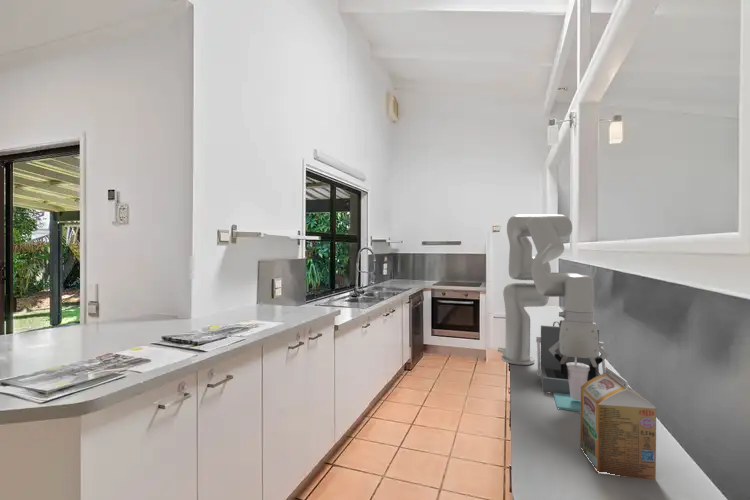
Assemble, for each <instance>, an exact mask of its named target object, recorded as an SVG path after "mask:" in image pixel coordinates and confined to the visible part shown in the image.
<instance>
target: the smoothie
mask: <svg viewBox="0 0 750 500" xmlns="http://www.w3.org/2000/svg"><path fill="white" fill-rule="evenodd" d="M566 365H567V373H568V381H569V389H570V397H571V398H572V399H574V400H580V401H581V386H582V385H584V384H585V383H586V382H587V379H588V372H589V371H590V366H588V365H586V364H583V363H577V357H575V362H569V363H566Z"/></svg>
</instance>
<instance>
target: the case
mask: <svg viewBox="0 0 750 500" xmlns="http://www.w3.org/2000/svg"><path fill="white" fill-rule="evenodd" d="M597 332H598V345H599V346H600V347H601V348H602V349H603V350H604V347H605V346H604V345H605V343H604V342H603V341H600V329H598V328H597ZM559 334H560V327H559V326H557V325H554V326H553V325H540V336H536V345H537V346H536V348H537V351H536V352H537V354H536V355H537V369H536V375H537V376H538V377H539V376H540V383H541V389H542V392H543V393H546V392H550V393H549V394H554V393H561V394H570V389H569V381H568V373H567V378H564V377H563V374H561V363H560V362H559V361H558V360H557V359H556V358H555V356H554V355H553V354H552V353H551V352H550V351H549V348H550V347H551V346H553V345H554V344H555V343H557V342H558V341H559ZM555 351H556V352H557V353H558V354H559V355H560V356H561V355H562V354H561V353H560V350H559V348H557V349H556V350H555ZM599 356H600V354H599V355H598V357H599ZM594 359H596V358H594ZM569 362H575V357H570V356H568V358H567V360H566V363H569ZM577 363H583V364H586V365H588V366H589V365H590V363H591V362H590V360H589V358H581V357H577ZM599 365H600V364H599ZM599 365H597V367H596V377H597V376H599V375H602V374H604V373H605V372H606V361H605V359H604V360H603V361H602V362H601V365H602V368H601V369H602V374H601V373H600V372H599V371H600V368H599V367H600V366H599ZM593 378H595V377H593ZM589 380H590V379H589V372H588V379H587V382H588V381H589Z"/></svg>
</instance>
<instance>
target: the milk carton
mask: <svg viewBox="0 0 750 500" xmlns="http://www.w3.org/2000/svg"><path fill="white" fill-rule="evenodd" d="M605 370H606V372H605V373H604V374H603V373H602V374H601V375H599V376H597V377H595V378H593V379H591V380H589V381H588V382H586V383H585V384H584V385H582V386H581V412H580V430H579V431H580V432H579V433H580V435H579V436H580V437H579V438H580V440H579V442H580V446H579V448H580V447H581V448H582V449H583V451H584V453H585V454H586V455H587V457H588V458H589V460H590V461H591V462H592V464H593V465H594V467H595V468H596V469H597V471H599V472H607V473H610V474H615V475H620V476H619V477H622V476H626V477H625V478H631V479H632V478H634V479H644V480H654V481H656V480H657V476H656V475H657V472H656V469H657V468H656V467H657V465H656V464H657V462H656V460H657V408H656V407H655V406H654V405H653V403H651V402H650V401H649V400H648V399H646V398H644V396H642V395H641V394H639V393H638V392H637V391H635V390H634V389H633V388H631V387H630V386H629V383H628V381H627V380H626V379H625V378H623V376H620V375H619V374H618V373H616V372H615V371H614V370H612V369H611V368H609V367H608V366H605ZM584 453H583V454H584Z"/></svg>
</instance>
